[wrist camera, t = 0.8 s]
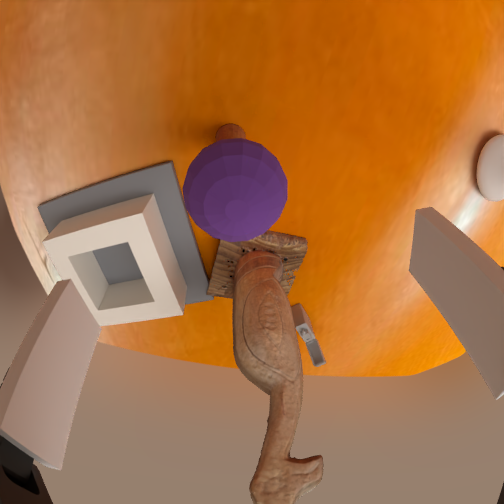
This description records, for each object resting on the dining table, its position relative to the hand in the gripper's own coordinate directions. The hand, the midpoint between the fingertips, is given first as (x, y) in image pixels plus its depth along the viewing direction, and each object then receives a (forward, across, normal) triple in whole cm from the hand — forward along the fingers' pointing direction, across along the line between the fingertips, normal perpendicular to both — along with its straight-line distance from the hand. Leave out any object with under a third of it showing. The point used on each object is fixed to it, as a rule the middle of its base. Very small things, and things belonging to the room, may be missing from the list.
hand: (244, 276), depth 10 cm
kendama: (+25, 0, 0) cm, 25 cm away
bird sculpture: (+26, 0, -17) cm, 31 cm away
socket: (+25, -17, -11) cm, 32 cm away
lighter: (+26, +6, -29) cm, 39 cm away
